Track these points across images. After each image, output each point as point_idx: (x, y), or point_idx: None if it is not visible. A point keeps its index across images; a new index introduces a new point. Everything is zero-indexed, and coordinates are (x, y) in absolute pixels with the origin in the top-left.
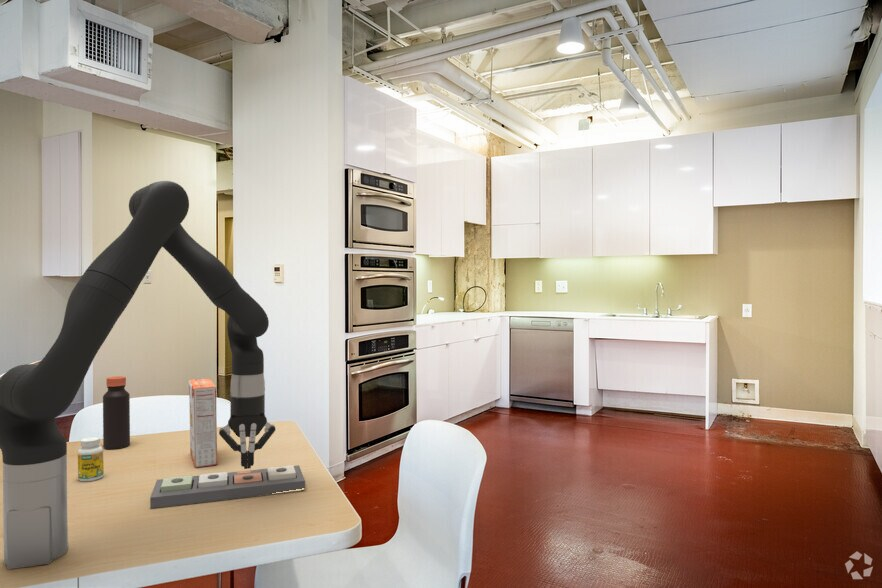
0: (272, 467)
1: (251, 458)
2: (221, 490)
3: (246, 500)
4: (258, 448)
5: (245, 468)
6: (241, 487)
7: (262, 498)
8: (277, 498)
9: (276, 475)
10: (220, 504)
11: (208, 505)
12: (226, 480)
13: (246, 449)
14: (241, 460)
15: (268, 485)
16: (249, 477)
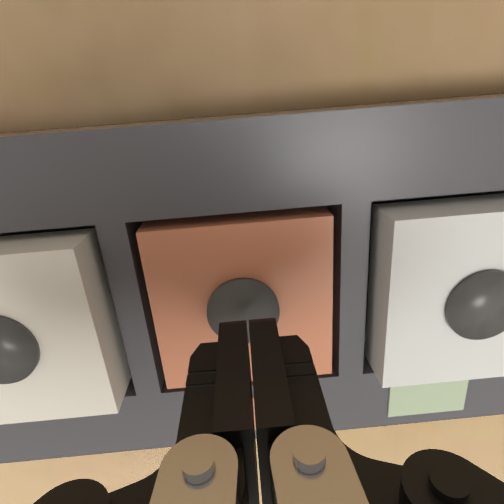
0: (82, 414)
1: (209, 390)
2: (426, 102)
3: (237, 54)
4: (93, 490)
5: (264, 319)
6: (280, 122)
7: (131, 65)
8: (20, 33)
9: (15, 251)
10: (405, 21)
11: (480, 24)
12: (398, 220)
13: (272, 473)
14: (311, 373)
15: (74, 132)
16: (232, 300)
